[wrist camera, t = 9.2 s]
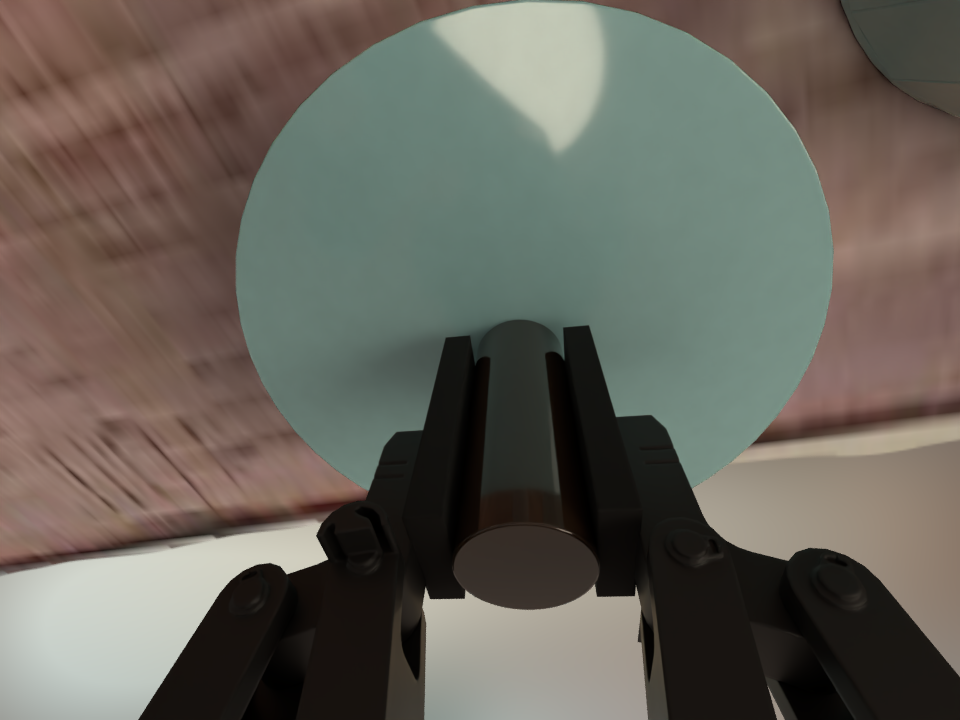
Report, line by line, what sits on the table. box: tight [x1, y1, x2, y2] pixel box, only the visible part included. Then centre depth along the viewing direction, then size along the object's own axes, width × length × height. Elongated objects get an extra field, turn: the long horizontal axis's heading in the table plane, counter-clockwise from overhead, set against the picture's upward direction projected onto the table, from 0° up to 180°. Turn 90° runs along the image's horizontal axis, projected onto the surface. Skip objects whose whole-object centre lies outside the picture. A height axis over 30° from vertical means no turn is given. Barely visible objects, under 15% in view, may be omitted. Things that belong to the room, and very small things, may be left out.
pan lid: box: [236, 0, 834, 610], centre depth 12 cm, size 18×18×9 cm
